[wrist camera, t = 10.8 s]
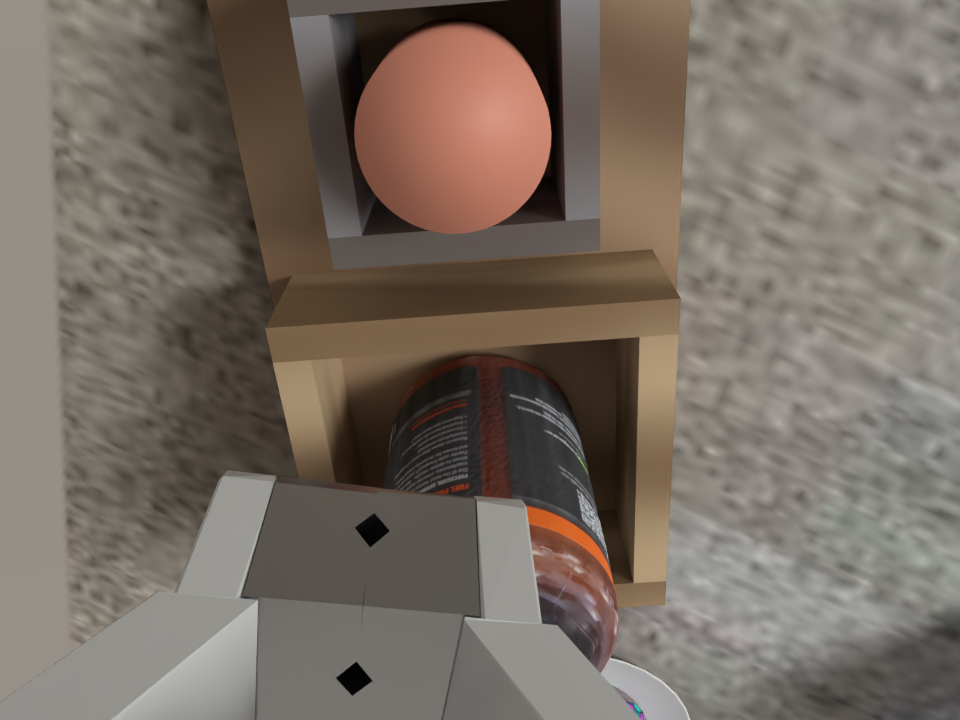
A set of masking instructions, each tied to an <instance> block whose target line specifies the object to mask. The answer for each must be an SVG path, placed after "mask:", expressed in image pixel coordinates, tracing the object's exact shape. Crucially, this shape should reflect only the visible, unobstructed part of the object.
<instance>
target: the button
mask: <svg viewBox="0 0 960 720" xmlns="http://www.w3.org/2000/svg"><path fill="white" fill-rule="evenodd" d="M354 137H355V148H356V153H357V158H358V161H359V164H360V167H361V170H362V173H363V175H364V177H365V179H366V181H367V183H368V184H369V186H370V187H371V189H372V190H373V192H374V193H375V195H376V196H377V197H378V198H379V199H380V201H381V202H382V203H383V204H384V205H385V206H386V207H387V208H388V209H390V210H391V211H392V212H393V213H394V214H396V215H397V216H399V217H400V218H402V219H403V220H405V221H407V222H409V223H411V224H413V225H415V226H417V227H420V228H423V229H425V230H429V231H433V232H438V233H447V234H462V233H470V232H475V231H479V230H483V229H486V228H488V227H491V226H493V225H496V224H498V223H499V222H501V221H503V220H505V219H506V218H508V217H509V216H511V215H512V214H513V213H515V212H516V211H517V210H518V209H519V208H520V207H521V206H522V205H523V204H524V203H525V202H526V201H527V200H528V199H529V198H530V196H531V195H532V194H533V193H534V191H535V189H536V188H537V186H538V184H539V183H540V181H541V178H542V176H543V174H544V172H545V169H546V166H547V162H548V159H549V154H550V148H551V124H550V117H549V112H548V108H547V105H546V102H545V99H544V97H543V94H542V92H541V89H540V87H539V85H538V83H537V80H536V78H535V76H534V74H533V71H532V69H531V67H530V65H529V63H528V61H527V59H526V58H525V56H524V55H523V53H522V52H521V51H520V49H519V48H518V47H517V46H516V45H515V44H514V43H513V42H512V41H511V40H510V39H509V38H508V37H507V36H505V35H504V34H503V33H501V32H500V31H498V30H497V29H495V28H493V27H491V26H489V25H487V24H484V23H482V22H479V21H475V20H472V19H465V18H444V19H437V20H434V21H430V22H427V23H425V24H422V25H420V26H418V27H416V28H414V29H413V30H411V31H410V32H408V33H407V34H405V35H404V36H403V37H402V38H401V39H399V40H398V41H397V42H396V43H395V45H394V46H393V47H392V48H391V49H390V50H389V52H388V53H387V55H386V56H385V58H384V59H383V61H382V62H381V64H380V65H379V66H378V68H377V69H376V71H375V72H374V74H373V75H372V77H371V78H370V80H369V81H368V83H367V85H366V87H365V89H364V91H363V93H362V95H361V98H360V101H359V104H358V108H357V112H356V118H355V130H354Z"/></svg>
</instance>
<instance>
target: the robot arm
mask: <svg viewBox="0 0 960 720" xmlns="http://www.w3.org/2000/svg"><path fill="white" fill-rule="evenodd" d="M0 720H642V719H641V718H640V717H639V716H638V715H637V714H636V713H635V712H634V711H633V709H632V708H631V707H630V706H629V705H628V704H627V703H626V702H625V700H624V699H623V698H622V697H621V696H620V695H619V694H618V693H617V692H616V690H615V689H614V688H613V687H612V686H611V685H610V684H609V683H608V681H607V680H606V679H605V678H604V677H603V676H602V675H601V674H600V672H599V671H598V670H597V669H596V668H595V667H594V666H593V665H592V664H591V662H590V661H589V660H588V659H587V658H586V657H585V656H584V655H583V653H582V652H581V651H580V650H579V649H578V648H577V647H576V646H575V645H574V643H573V642H572V641H571V640H570V639H569V638H568V637H567V636H566V634H565V633H564V632H563V631H562V630H561V629H560V628H559V627H558V626H557V625H549V624H542V619H541V612H540V605H539V597H538V590H537V582H536V575H535V567H534V560H533V552H532V545H531V537H530V530H529V522H528V515H527V507H526V505H525V504H524V502H523V501H522V500H520V499H507V498H494V497H481V496H474V498H472V497H467V496H457V495H446V494H436V493H425V492H415V491H404V490H394V489H383V488H376V487H368V486H360V485H352V484H344V483H336V482H328V481H320V480H312V479H304V478H295V477H287V476H279V477H277V476H274V475H265V474H257V473H248V472H240V471H231V470H227V471H226V472H225V474H224V475H223V476H222V477H221V478H220V479H219V481H218V484H217V486H216V489H215V491H214V494H213V496H212V499H211V501H210V504H209V506H208V509H207V511H206V514H205V516H204V519H203V521H202V524H201V527H200V529H199V532H198V534H197V537H196V539H195V542H194V544H193V547H192V549H191V552H190V554H189V557H188V559H187V562H186V564H185V567H184V569H183V572H182V574H181V577H180V579H179V582H178V584H177V587H176V590H175V592H174V593H171V592H156V593H154V594H153V595H152V596H150V597H149V598H147V599H146V600H145V601H143V602H142V603H140V604H139V605H137V606H136V607H135V608H133V609H132V610H130V611H129V612H127V613H126V614H125V615H123V616H122V617H120V618H119V619H117V620H116V621H115V622H113V623H112V624H110V625H109V626H107V627H106V628H105V629H103V630H102V631H100V632H99V633H98V634H96V635H95V636H93V637H92V638H90V639H89V640H88V641H86V642H85V643H83V644H82V645H80V646H79V647H78V648H76V649H75V650H73V651H72V652H70V653H69V654H68V655H66V656H65V657H63V658H62V659H60V660H59V661H58V662H56V663H55V664H54V665H52V666H51V667H49V668H48V669H46V670H45V671H43V672H42V673H41V674H39V675H38V676H36V677H35V678H33V679H32V680H31V681H29V682H28V683H27V684H25V685H24V686H22V687H21V688H19V689H18V690H16V691H15V692H13V693H12V694H11V695H9V696H8V697H6V698H5V699H4V700H2V701H1V702H0Z"/></svg>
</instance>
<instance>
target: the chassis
mask: <svg viewBox="0 0 960 720" xmlns="http://www.w3.org/2000/svg"><path fill="white" fill-rule="evenodd" d="M207 4H208V9H209V14H210V18H211V23H212V27H213V32H214V37H215V41H216V46H217V50H218V55H219V60H220V64H221V69H222V73H223V78H224V83H225V87H226V92H227V96H228V101H229V106H230V110H231V115H232V119H233V124H234V129H235V133H236V138H237V142H238V147H239V151H240V156H241V161H242V165H243V170H244V174H245V179H246V184H247V188H248V193H249V197H250V202H251V207H252V211H253V216H254V220H255V225H256V230H257V234H258V239H259V243H260V248H261V253H262V257H263V262H264V266H265V271H266V276H267V280H268V285H269V289H270V294H271V299H272V303H273V308H274V312H273V314H272V316H271V318H270V320H269V322H268V323H267V325H266V327H265V331H266V335H267V340H268V344H269V348H270V353H271V357H272V362H273V366H274V370H275V375H276V379H277V384H278V388H279V393H280V397H281V401H282V406H283V410H284V415H285V419H286V423H287V428H288V432H289V437H290V441H291V446H292V450H293V454H294V459H295V463H296V468H297V472H298V476H299V478H304V479H312V480H320V481H328V482H336V483H344V484H352V485H360V486H368V487H376V488H383V489H384V482H385V476H386V467H387V462H388V455H389V447H390V439H391V433H392V428H393V424H394V420H395V416H396V414H397V411H398V408H399V405H400V403H401V401H402V400H403V398H404V396H405V395H406V393H407V392H408V390H409V389H410V388H411V387H412V386H413V385H414V384H415V383H416V382H417V381H418V380H419V379H420V378H421V377H422V376H424V375H425V374H426V373H428V372H429V371H431V370H433V369H434V368H436V367H438V366H440V365H442V364H444V363H446V362H449V361H452V360H455V359H458V358H460V357H464V356H474V355H496V356H504V357H510V358H514V359H517V360H521V361H523V362H526V363H528V364H530V365H533V366H534V367H536V368H538V369H539V370H540V371H542V372H543V373H545V374H546V375H548V376H549V377H550V378H551V379H552V380H553V381H554V382H555V383H556V384H557V385H558V386H559V387H560V388H561V390H562V391H563V393H564V394H565V395H566V397H567V399H568V401H569V403H570V405H571V407H572V410H573V413H574V416H575V418H576V422H577V424H578V428H579V433H580V437H581V442H582V446H583V451H584V455H585V459H586V461H587V467H588V472H589V476H590V481H591V485H592V489H593V494H594V499H595V502H596V507H597V513H598V517H599V520H600V525H601V528H602V533H603V536H604V542H605V545H606V550H607V554H608V560H609V562H610V569H611V575H612V579H613V583H614V588H615V592H616V598H617V606H618V608H622V607H639V606H655V605H665V593H666V574H667V554H668V535H669V515H670V496H671V476H672V457H673V437H674V418H675V398H676V379H677V359H678V340H679V320H680V301H681V298H680V297H679V295H678V293H677V291H676V287H677V267H678V246H679V225H680V204H681V184H682V163H683V142H684V122H685V101H686V80H687V59H688V39H689V18H690V0H207ZM444 18H465V19H472V20H475V21H479V22H482V23H484V24H487V25H489V26H491V27H493V28H495V29H497V30H498V31H500V32H501V33H503V34H504V35H505V36H507V37H508V38H509V39H510V40H511V41H512V42H513V43H514V44H515V45H516V46H517V47H518V48H519V49H520V51H521V52H522V53H523V55H524V56H525V58H526V59H527V61H528V63H529V65H530V67H531V69H532V71H533V74H534V76H535V78H536V80H537V83H538V85H539V87H540V89H541V92H542V94H543V97H544V99H545V102H546V105H547V108H548V112H549V117H550V124H551V148H550V154H549V159H548V162H547V166H546V169H545V172H544V174H543V176H542V178H541V181H540V183H539V184H538V186H537V188H536V189H535V191H534V193H533V194H532V195H531V196H530V198H529V199H528V200H527V201H526V202H525V203H524V204H523V205H522V206H521V207H520V208H519V209H518V210H517V211H516V212H515V213H513V214H512V215H511V216H509V217H508V218H506V219H505V220H503V221H501V222H499V223H498V224H496V225H493V226H491V227H488V228H486V229H483V230H479V231H475V232H470V233H462V234H447V233H438V232H433V231H429V230H425V229H423V228H420V227H417V226H415V225H413V224H411V223H409V222H407V221H405V220H403V219H402V218H400V217H399V216H397V215H396V214H394V213H393V212H392V211H391V210H390V209H388V208H387V207H386V206H385V205H384V204H383V203H382V202H381V201H380V199H379V198H378V197H377V196H376V195H375V193H374V192H373V190H372V189H371V187H370V186H369V184H368V183H367V181H366V179H365V177H364V175H363V173H362V170H361V167H360V164H359V161H358V158H357V153H356V148H355V137H354V130H355V118H356V112H357V108H358V104H359V101H360V98H361V95H362V93H363V91H364V89H365V87H366V85H367V83H368V81H369V80H370V78H371V77H372V75H373V74H374V72H375V71H376V69H377V68H378V66H379V65H380V64H381V62H382V61H383V59H384V58H385V56H386V55H387V53H388V52H389V50H390V49H391V48H392V47H393V46H394V45H395V43H396V42H397V41H398V40H399V39H401V38H402V37H403V36H404V35H405V34H407V33H408V32H410V31H411V30H413V29H414V28H416V27H418V26H420V25H422V24H425V23H427V22H430V21H434V20H437V19H444Z"/></svg>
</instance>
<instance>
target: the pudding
mask: <svg viewBox="0 0 960 720" xmlns="http://www.w3.org/2000/svg"><path fill="white" fill-rule="evenodd" d="M600 674H601V675H602V676H603V677H604V678H605V679H606V680H607V681H608V683H609V684H611V685H613V686H615V687H617V688H619V689H620V690H622V691H624V692H625V693H627V694H628V695H629V696H630V697H631V698H632V699H633V700H635V701H636V702H637V704H638V705H639V707H640V708H641V709H642V711H643V712H644V715H645V717H646V720H690V717H689V715H688V712H687V709H686V707H685V706H684V704H683V703H682V701H681V700H680V699H679V697H678V696H677V694H676V693H675V692H674V691H673V690H671V689H670V688H669V687H668V686H667V685H666V684H665V683H664V682H663V681H661V680H660V679H658V678H657V677H655V676H653V675H652V674H650V673H649V672H647V671H646V670H643V669H641V668H639V667H636V666H634V665H631V664H629V663H627V662H624V661H620V660H617V659H613V658H610V659H609V661H608V662H607V664H606V666H605V668H604V669H603V670H602V672H601V673H600ZM625 702H626V701H625ZM626 703H627V704H628V705H629V706H630V707H631V708H632V709H633V711H634V712H635V713H636V714H637V715H638V716H639V717H640V718H641V719H642V720H644V718H643V713H642V711H641V710H640V709H639V708H638V707H637V706H636V705H635V704H634V703H630V702H626Z"/></svg>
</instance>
